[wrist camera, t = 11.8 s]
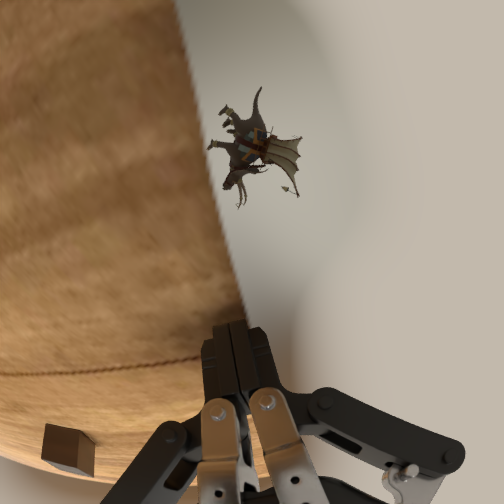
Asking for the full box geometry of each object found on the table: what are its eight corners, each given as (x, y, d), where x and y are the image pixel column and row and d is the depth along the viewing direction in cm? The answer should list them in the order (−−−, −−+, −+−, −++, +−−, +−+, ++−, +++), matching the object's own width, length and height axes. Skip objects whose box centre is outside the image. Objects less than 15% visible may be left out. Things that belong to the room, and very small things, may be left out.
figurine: (205, 181, 50) (285, 225, 49) (188, 187, 45) (276, 236, 43) (247, 81, 40) (340, 122, 39) (233, 74, 35) (338, 120, 33)
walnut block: (45, 423, 19) (40, 458, 15) (79, 430, 20) (76, 468, 16) (63, 438, 21) (60, 470, 17) (95, 444, 22) (94, 477, 18)
